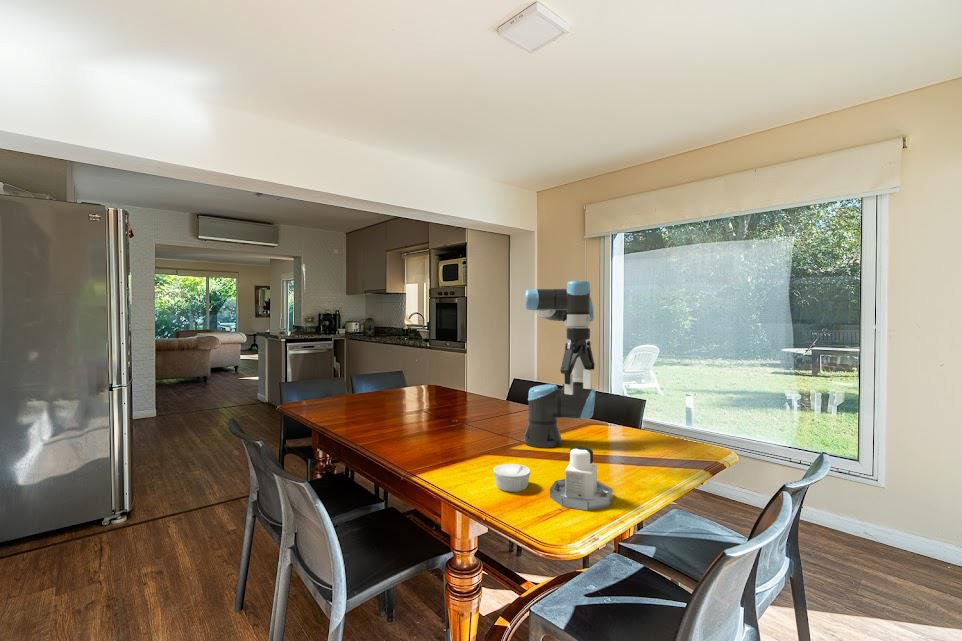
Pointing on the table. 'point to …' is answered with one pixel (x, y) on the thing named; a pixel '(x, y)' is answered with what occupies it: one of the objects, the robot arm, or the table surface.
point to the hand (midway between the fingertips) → (578, 391)
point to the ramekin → (511, 477)
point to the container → (581, 474)
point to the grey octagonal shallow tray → (599, 500)
